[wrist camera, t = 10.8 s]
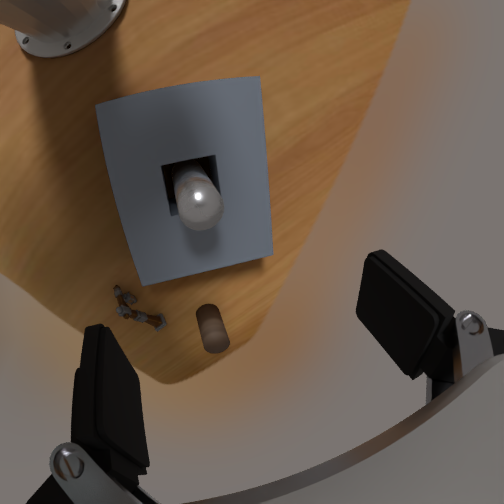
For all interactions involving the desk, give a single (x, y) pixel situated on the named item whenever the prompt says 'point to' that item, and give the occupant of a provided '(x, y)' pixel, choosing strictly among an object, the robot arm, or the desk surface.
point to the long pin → (196, 196)
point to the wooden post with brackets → (135, 314)
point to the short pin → (212, 329)
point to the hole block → (184, 148)
